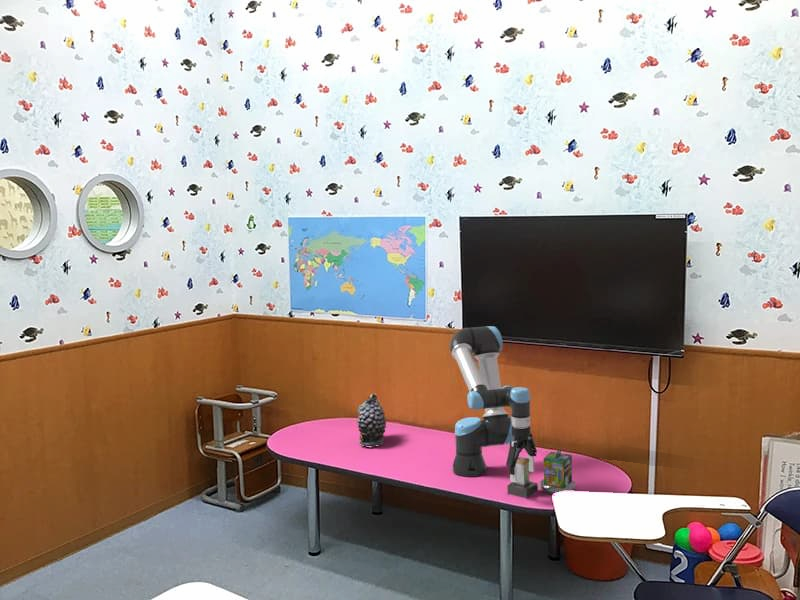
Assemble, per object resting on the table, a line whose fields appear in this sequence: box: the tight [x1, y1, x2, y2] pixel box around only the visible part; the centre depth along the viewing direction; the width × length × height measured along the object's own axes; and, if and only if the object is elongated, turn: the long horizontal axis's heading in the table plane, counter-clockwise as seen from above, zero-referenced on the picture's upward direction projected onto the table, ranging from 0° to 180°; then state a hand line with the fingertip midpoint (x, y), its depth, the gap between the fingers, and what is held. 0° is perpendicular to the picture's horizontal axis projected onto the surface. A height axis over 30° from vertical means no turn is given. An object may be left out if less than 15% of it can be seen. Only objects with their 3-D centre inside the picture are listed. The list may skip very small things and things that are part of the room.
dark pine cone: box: [356, 392, 387, 446], centre depth 355 cm, size 21×15×25 cm
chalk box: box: [543, 447, 573, 488], centre depth 285 cm, size 9×9×15 cm
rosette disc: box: [539, 478, 576, 496], centre depth 286 cm, size 14×14×2 cm
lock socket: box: [506, 480, 539, 499], centre depth 284 cm, size 9×9×4 cm
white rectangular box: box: [515, 456, 530, 488], centre depth 284 cm, size 4×4×14 cm
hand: (522, 476), depth 284 cm, fingers open, 13 cm apart
